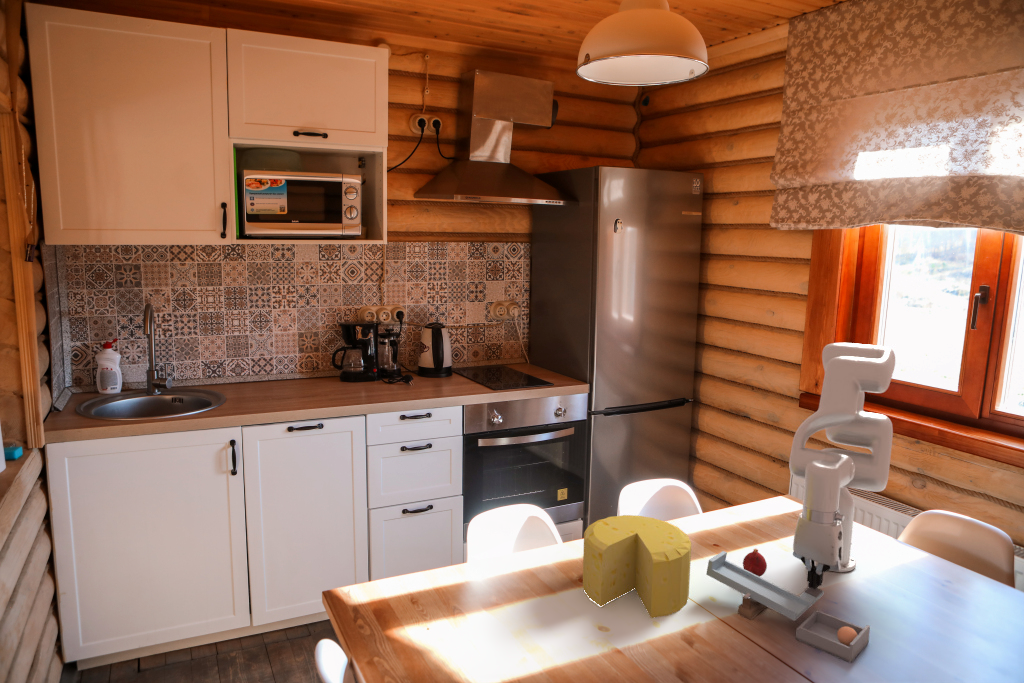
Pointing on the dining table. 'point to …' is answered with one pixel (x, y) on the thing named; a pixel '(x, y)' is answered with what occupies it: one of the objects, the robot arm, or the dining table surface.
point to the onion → (755, 563)
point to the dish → (831, 635)
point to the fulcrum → (750, 608)
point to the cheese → (637, 562)
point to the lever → (761, 588)
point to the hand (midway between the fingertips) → (814, 586)
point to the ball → (846, 635)
